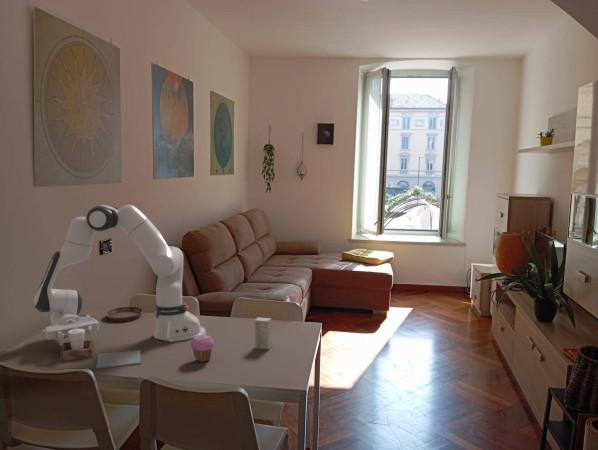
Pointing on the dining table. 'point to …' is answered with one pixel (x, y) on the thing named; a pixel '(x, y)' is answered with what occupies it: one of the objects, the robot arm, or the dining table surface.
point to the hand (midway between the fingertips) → (77, 334)
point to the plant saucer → (124, 313)
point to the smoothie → (76, 338)
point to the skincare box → (263, 333)
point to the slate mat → (118, 359)
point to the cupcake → (202, 347)
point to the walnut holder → (77, 351)
